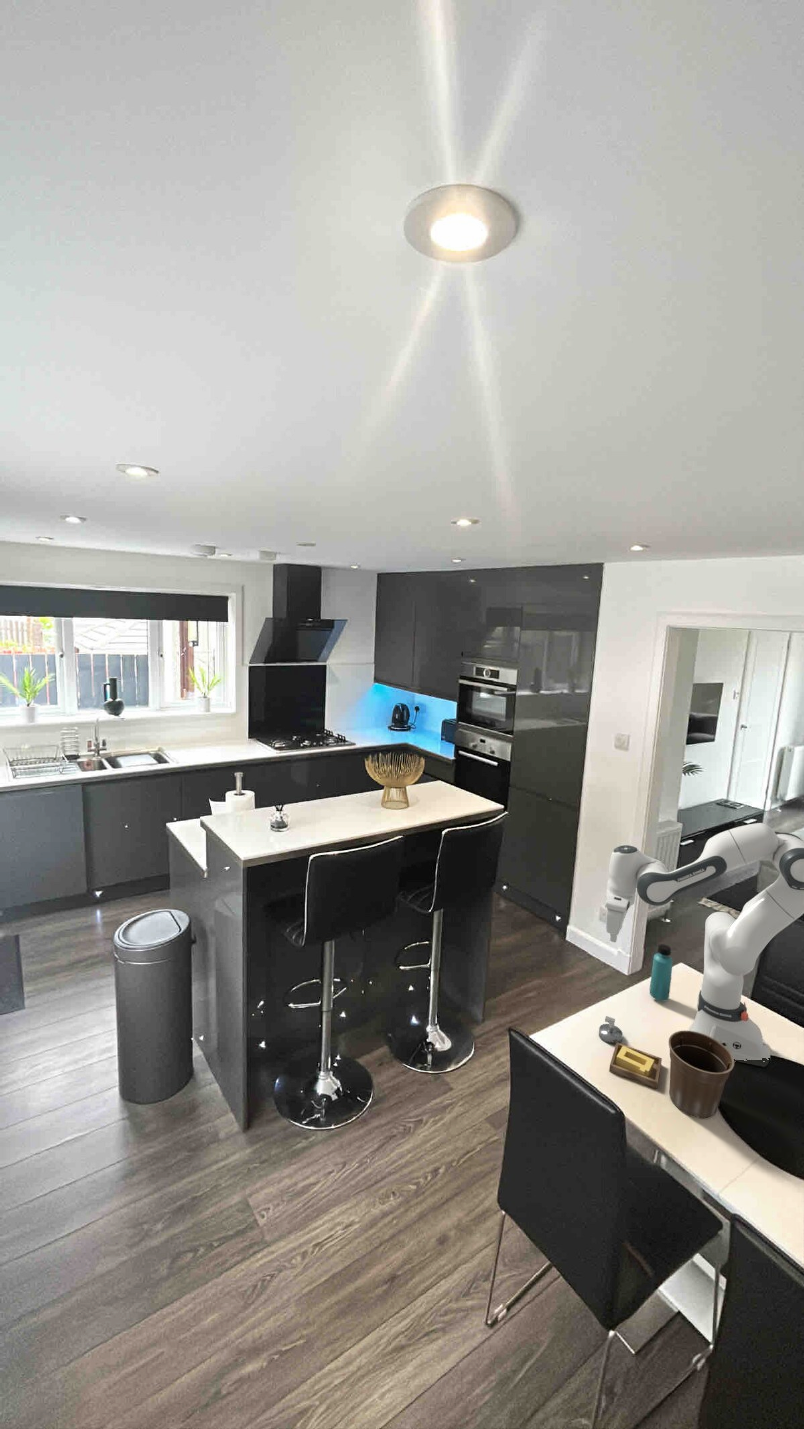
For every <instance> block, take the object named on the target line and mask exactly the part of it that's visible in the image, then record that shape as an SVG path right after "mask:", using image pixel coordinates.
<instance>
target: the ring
mask: <svg viewBox="0 0 804 1429" xmlns="http://www.w3.org/2000/svg"><path fill="white" fill-rule="evenodd" d="M616 1064H617V1065H619V1066H621V1067H623V1068H625V1069H627V1070H630V1071H632V1072H635V1073H638V1074H640V1075H643V1076H646V1077H649V1075H650V1073H651V1071H652V1069H653V1066H654V1060H653V1059H651V1058H649V1057H647V1056H644V1055H642V1054H640V1053H638V1052H636V1051H633V1050H631V1049H629V1048H627V1047H625V1046H622V1048H621V1050H620V1052H619V1053H618V1055H617V1057H616Z"/></svg>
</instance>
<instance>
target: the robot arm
mask: <svg viewBox="0 0 804 1429" xmlns="http://www.w3.org/2000/svg"><path fill="white" fill-rule="evenodd" d="M702 850H703V851H702V852H701V854H700V856H699V857H698V858H697V859H696V860H695V861H693V862H691V863H689V864H686V865H684V866H681V867H680V868H677V869H675V870H672V871H670V872H669V870H668V867H667V865H666V864H665V863H664V862H663V861H661V860H660V859H658V858H654V857H650V855H649V856H648V855H646V853H645V854H644V852H642V851H641V850H639V849H638V848H637V847H635V846H633V845H628V844H627V845H626V844H625V845H619V846H617V847H615V848H614V849H613V851H612V853H611V855H610V857H609V858H610V859H609V866H608V879H607V882H606V890H605V891H606V892H605V904H604V907H605V909H606V912H605V913H606V914H605V915H606V916H605V917H606V919H605V929H606V932H607V933H608V934H610V935H609V936H610V939H609V941H611V942H612V943H616V942H617V940H618V936H619V934H620V932H621V929H622V927H623V923H624V921H625V918H626V915H627V914H628V910H629V909H630V908H631V906H633V905H635V901H636V892H637V894H638V896H639V898H640V899H641V900H642V902H644V903H646V904H648V905H650V906H655V907H658V906H659V907H660V906H665V905H666V904H669V902H671V901H672V900H673V899H674V898H675V897H677V896H678V895H680V894H681V893H684V892H686V891H688V890H690V889H693V888H695V887H697V886H701V885H703V884H705V883H707V882H709V881H712V880H714V879H716V878H718V877H721V876H722V875H723V874H726V873H729V872H731V871H733V870H735V869H738V868H742V867H744V866H747V865H751V864H754V863H756V862H760V861H761V862H762V861H763V862H764V861H766V862H767V861H768V862H771V863H772V865H773V866H774V868H775V869H776V870H777V871H779V875H778V877H777V879H776V880H775V881H774V882H773V883H772V884H770V885H768V886H766V888H765V889H763V890H762V891H760V892H759V893H758V894H756V895H755V896H754V897H753V898H751V899H750V900H748V901H747V902H746V903H745V904H744V905H743V907H742V910H741V912H740V914H739V915H738V917H737V918H736V917H734V916H733V915H731V914H729V913H728V912H724V911H716V912H712V913H711V914H710V915H709V916H708V917H707V918H706V919H705V924H704V925H705V926H704V929H705V930H704V944H703V945H704V949H703V953H704V954H703V955H704V956H703V959H704V960H703V962H704V963H703V967H704V968H703V976H702V983H701V989H700V990H699V993H698V997H697V1004H696V1006H697V1007H696V1008H697V1010H696V1014H695V1017H694V1020H693V1022H692V1024H691V1025H690V1027H689V1031H694V1032H699V1033H702V1034H705V1035H707V1036H710V1037H712V1038H714V1039H715V1040H717V1041H718V1042H720V1043H721V1044H722V1045H724V1046H725V1047H726V1048H727V1049H728V1050H729V1051H730V1053H731V1054H732V1056H733V1058H734V1059H735V1060H744V1061H747V1060H762V1058H766V1059H767V1060H769V1059H768V1058H770V1059H771V1051H770V1047H769V1045H768V1043H767V1042H766V1040H765V1039H764V1037H763V1033H762V1031H761V1028H760V1026H759V1025H758V1024H757V1023H756V1022H754V1021H753V1020H752V1019H751V1018H750V1017H749V1014H748V1012H747V1010H748V1007H747V1006H746V1002H745V1001H744V1002H742V1001H741V999H742V994H743V988H744V987H743V986H744V976H745V975H748V974H749V973H751V972H752V971H753V969H754V968H755V966H756V961H757V960H758V957H759V955H760V954H761V953H762V952H763V950H764V949H765V947H766V946H767V945H768V943H770V941H771V940H772V939H773V938H774V937H775V936H776V935H778V934H779V933H780V932H781V931H783V930H784V929H785V928H787V927H788V926H789V925H791V924H792V923H793V922H795V921H796V920H797V919H799V918H800V917H801V916H803V915H804V840H802V838H801V837H799V836H797V835H795V834H793V833H789V832H777V831H774V829H773V828H772V827H771V826H769V825H768V824H766V823H763V822H755V823H751V824H746V825H741V826H737V827H733V828H730V829H727V830H724V831H722V832H719V833H716V834H715V835H713V836H712V837H710V838H709V839H708V840H707V841H706V843H705V844H704V848H703V849H702ZM746 1059H747V1060H746ZM763 1062H765V1061H763Z"/></svg>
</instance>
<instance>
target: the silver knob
mask: <svg viewBox="0 0 804 1429" xmlns="http://www.w3.org/2000/svg"><path fill="white" fill-rule="evenodd" d="M604 1022H605V1023H602V1024H601V1025H600V1026H598V1027H599V1028H598V1037H599V1038H600V1040H602V1041H603V1042H604V1043H606V1044H608V1045H612V1046H614V1045H615V1046H616V1043H620V1044H622V1041H623V1035H624V1034H623V1031H622V1030H621V1028H620V1027H618V1026H617V1025H615V1023H616V1018H613V1017H610V1016H607V1015H605V1019H604Z"/></svg>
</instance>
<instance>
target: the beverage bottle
mask: <svg viewBox="0 0 804 1429" xmlns="http://www.w3.org/2000/svg"><path fill="white" fill-rule="evenodd" d="M671 951H672V949H671V947H670V946H669V945H667V944H665V943H661V944H659V945H658V947H657V953H655V954H654V955H653V961H652V968H651V976H650V985H649V994H650V997H652V998H653V999H655V1000H658V1001H660V1002H661V1001H665V1002H666V1001H667V1000H668V999H669V998H670V992H671V984H672V973H673V972H672V971H673V964H674V959H673V958H672V957H671V953H672V952H671Z"/></svg>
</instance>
